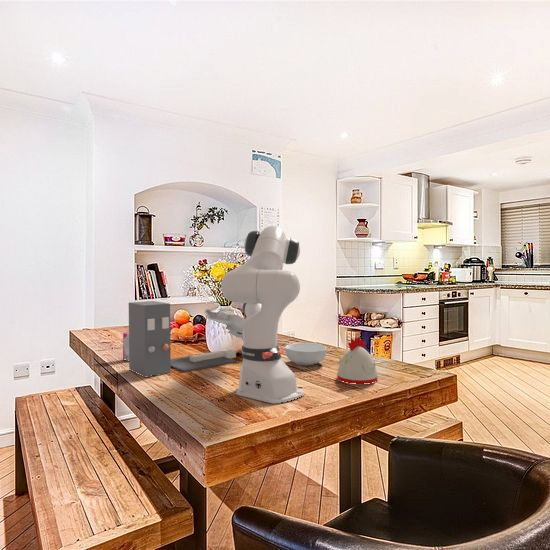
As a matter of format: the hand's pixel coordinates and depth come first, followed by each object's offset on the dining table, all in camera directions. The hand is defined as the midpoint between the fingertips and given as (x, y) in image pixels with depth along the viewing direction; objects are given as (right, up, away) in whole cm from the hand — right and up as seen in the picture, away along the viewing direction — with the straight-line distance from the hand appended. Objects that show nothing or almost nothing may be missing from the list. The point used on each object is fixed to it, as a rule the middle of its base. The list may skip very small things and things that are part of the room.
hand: (212, 311), depth 177 cm
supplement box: (-34, -21, +1) cm, 40 cm away
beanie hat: (+56, -22, -29) cm, 66 cm away
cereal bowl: (+39, -21, -6) cm, 45 cm away
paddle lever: (0, -18, +1) cm, 18 cm away
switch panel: (-21, -21, -18) cm, 35 cm away
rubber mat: (-5, -21, -4) cm, 22 cm away
